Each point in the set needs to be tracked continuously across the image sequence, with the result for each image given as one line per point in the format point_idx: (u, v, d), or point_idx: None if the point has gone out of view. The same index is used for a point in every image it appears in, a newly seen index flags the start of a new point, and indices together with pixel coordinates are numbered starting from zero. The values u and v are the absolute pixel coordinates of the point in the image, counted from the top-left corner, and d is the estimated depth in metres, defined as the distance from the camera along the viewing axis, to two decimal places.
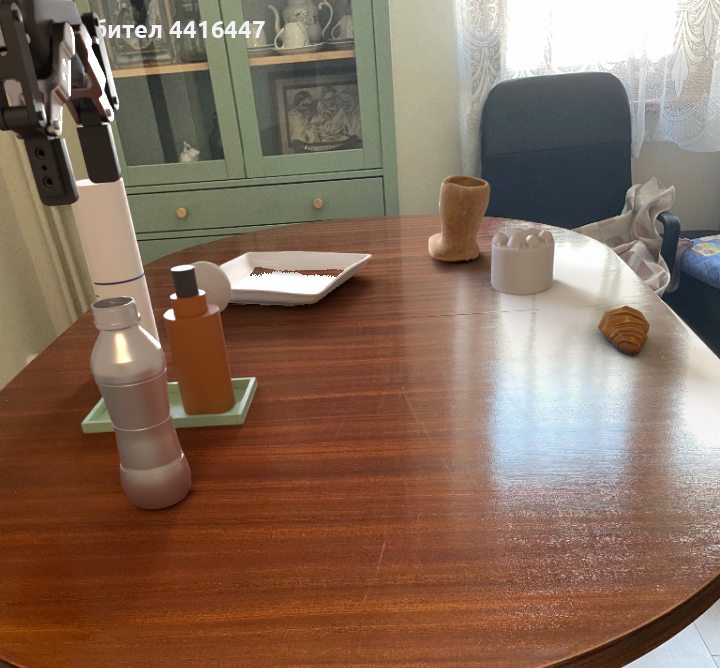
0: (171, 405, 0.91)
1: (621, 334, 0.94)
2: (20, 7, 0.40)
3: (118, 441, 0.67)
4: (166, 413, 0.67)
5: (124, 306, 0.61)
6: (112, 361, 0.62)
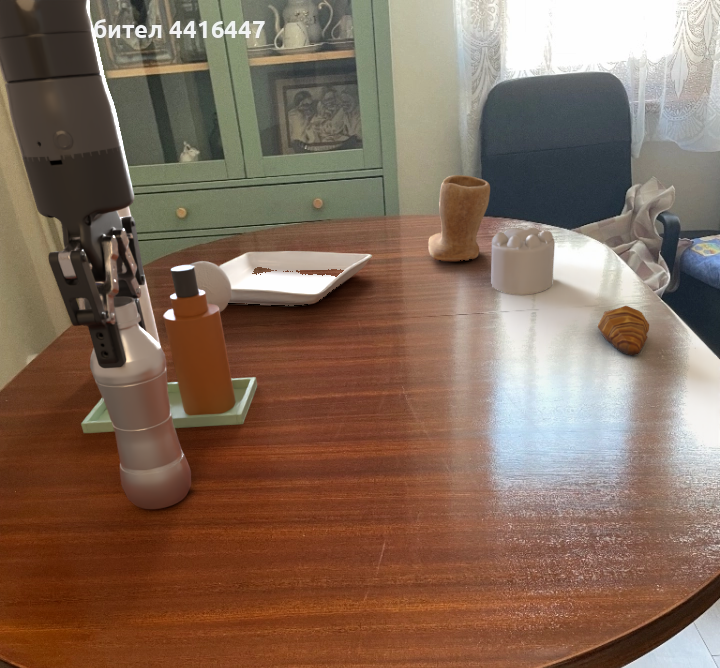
0: (171, 405, 0.91)
1: (621, 334, 0.94)
2: (81, 238, 0.55)
3: (118, 441, 0.67)
4: (166, 413, 0.67)
5: (124, 306, 0.61)
6: None
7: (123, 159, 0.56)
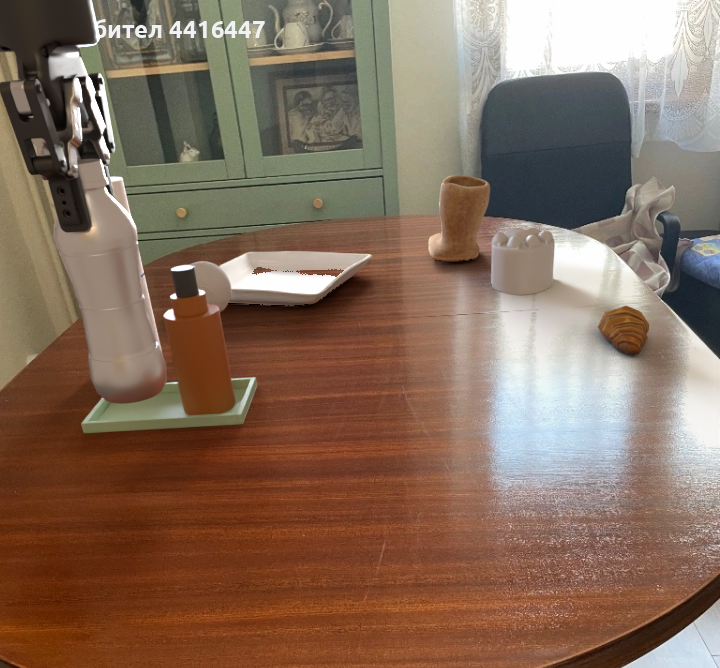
0: (171, 405, 0.91)
1: (621, 334, 0.94)
2: (38, 72, 0.50)
3: (85, 325, 0.61)
4: (138, 293, 0.61)
5: (89, 163, 0.55)
6: None
7: None
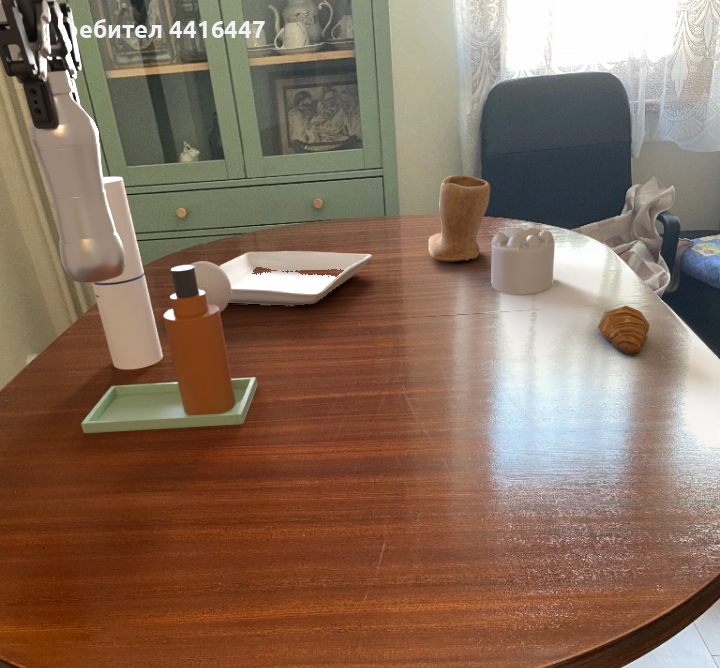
0: (171, 405, 0.91)
1: (621, 334, 0.94)
2: None
3: (56, 212, 0.74)
4: (99, 186, 0.74)
5: (57, 72, 0.68)
6: None
7: None
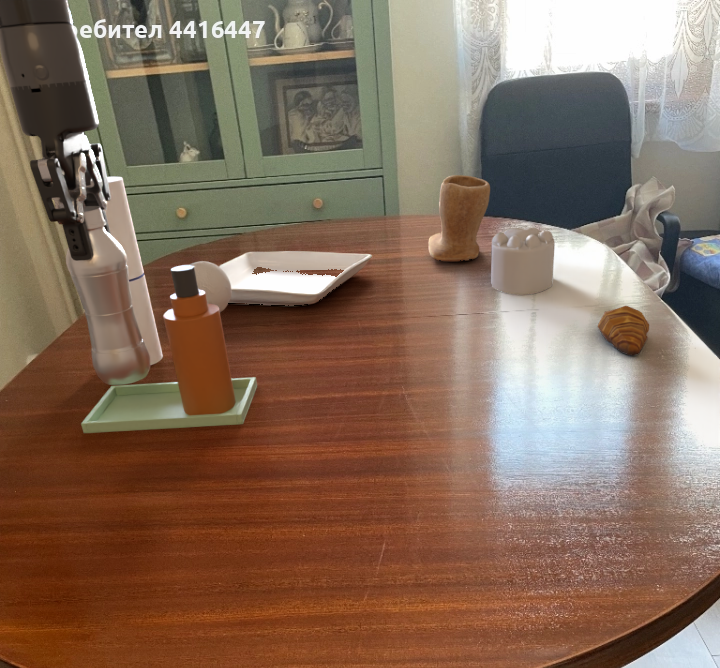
0: (171, 405, 0.91)
1: (621, 334, 0.94)
2: (56, 151, 0.72)
3: (89, 326, 0.83)
4: (127, 303, 0.83)
5: (92, 211, 0.77)
6: None
7: (89, 91, 0.73)
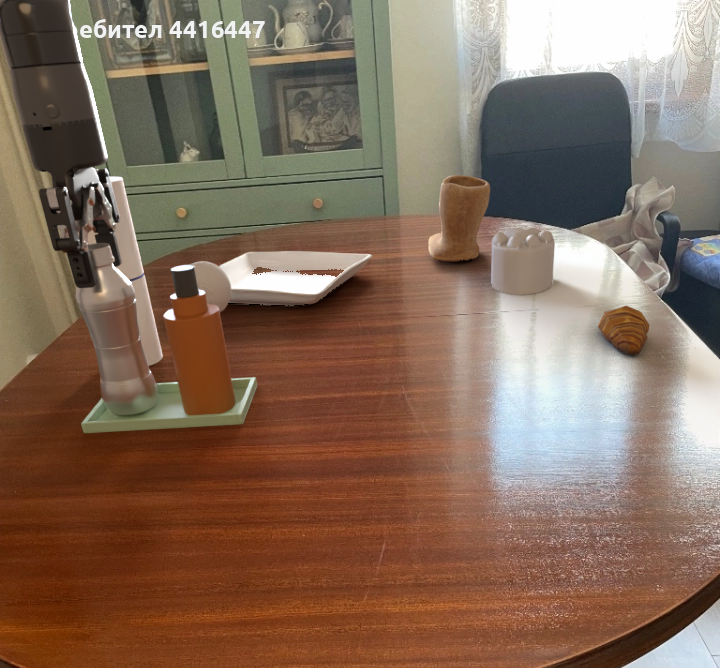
0: (171, 405, 0.91)
1: (621, 334, 0.94)
2: (66, 184, 0.73)
3: (98, 359, 0.86)
4: (135, 336, 0.85)
5: (101, 248, 0.79)
6: (92, 291, 0.80)
7: (98, 127, 0.74)
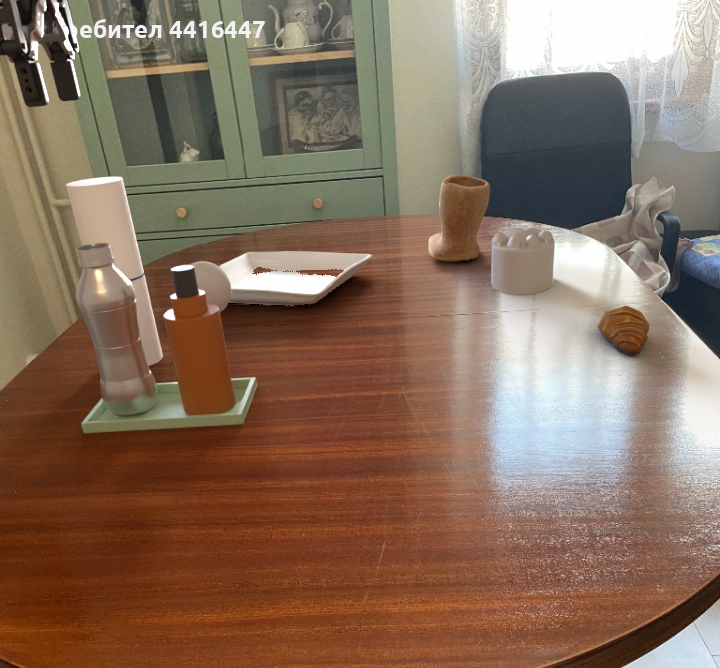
0: (171, 405, 0.91)
1: (621, 334, 0.94)
2: None
3: (98, 359, 0.85)
4: (136, 336, 0.85)
5: (101, 248, 0.79)
6: (92, 291, 0.80)
7: None
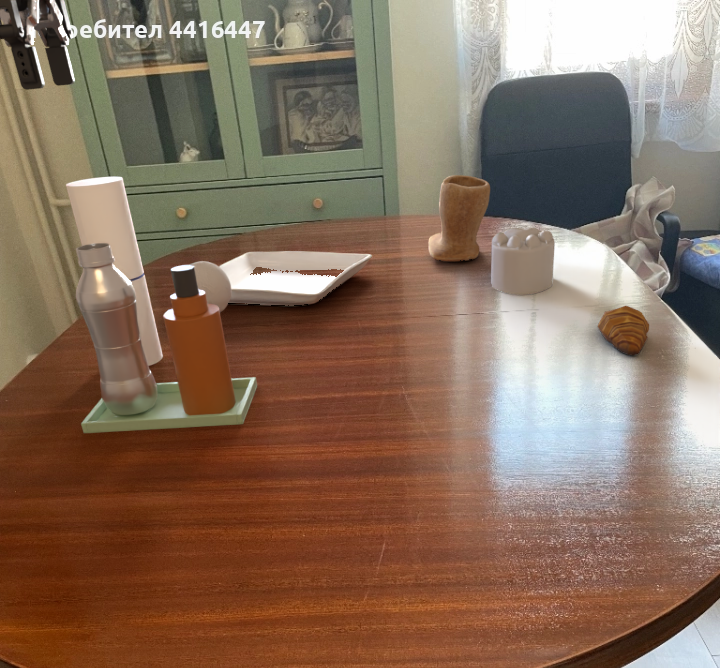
0: (171, 405, 0.91)
1: (621, 334, 0.94)
2: None
3: (98, 359, 0.85)
4: (136, 336, 0.85)
5: (101, 248, 0.79)
6: (92, 291, 0.80)
7: None
